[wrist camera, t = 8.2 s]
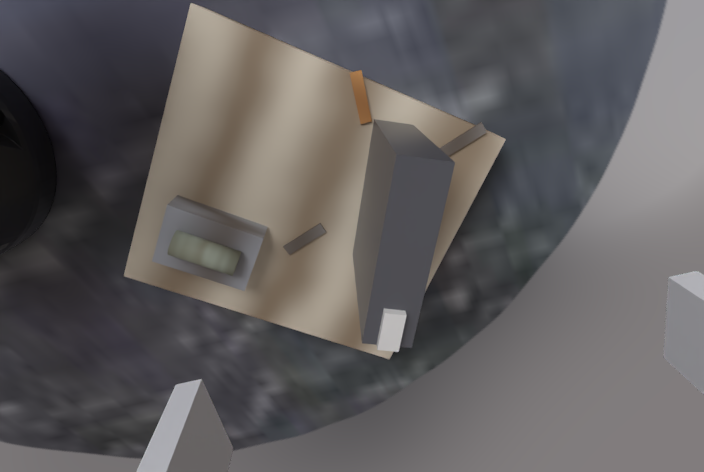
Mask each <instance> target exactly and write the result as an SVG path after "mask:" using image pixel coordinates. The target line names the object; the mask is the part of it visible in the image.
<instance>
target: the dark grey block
mask: <svg viewBox="0 0 704 472" xmlns="http://www.w3.org/2000/svg"><path fill="white" fill-rule="evenodd" d="M454 166H455V162H454V161H453V160H452V159H451V158H450V157H449V156H447V155H446V154H445V153H444V152H443V151H442V150H441V149H440V148H438V147H437V146H436V145H435V144H434V143H433V142H432V141H431V140H430V139H428V138H427V137H426V136H425V135H424V134H423V133H422V132H421V131H419V130H418V129H417V128H416V127H415V126H414V125H411V124H404V123H397V122H390V121H383V120H376V119H374V123H373V129H372V135H371V142H370V148H369V154H368V160H367V167H366V173H365V179H364V186H363V192H362V198H361V204H360V211H359V217H358V223H357V230H356V236H355V242H354V248H353V263H354V272H355V282H356V292H357V301H358V311H359V320H360V330H361V340H362V343H363V344H374V345H377V350H383V351H393V352H399V348H400V347H405V348H412V345H413V341H414V337H415V332H416V328H417V324H418V320H419V315H420V311H421V307H422V302H423V298H424V294H425V290H426V285H427V281H428V277H429V273H430V268H431V264H432V260H433V256H434V251H435V247H436V243H437V238H438V234H439V230H440V226H441V221H442V217H443V213H444V209H445V204H446V200H447V196H448V191H449V187H450V183H451V179H452V174H453V170H454Z"/></svg>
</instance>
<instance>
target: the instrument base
mask: <svg viewBox="0 0 704 472" xmlns="http://www.w3.org/2000/svg"><path fill="white" fill-rule="evenodd" d="M374 119H376V120H383V121H390V122H397V123H404V124H411V125H414V126H415V127H416V128H417V129H418V130H419V131H421V132H422V133H423V134H424V135H425V136H426V137H427V138H428V139H430V140H431V141H432V142H433V143H434V144H435V145H436V146H437V147H438V148H440V149H441V150H442V151H443V152H444V153H445V154H446V155H447V156H449V157H450V158H451V159H452V160H453V161H454V162H455V166H454V170H453V174H452V179H451V183H450V187H449V191H448V196H447V200H446V204H445V209H444V213H443V217H442V221H441V226H440V230H439V234H438V238H437V243H436V247H435V251H434V256H433V260H432V264H431V268H430V273H429V277H428V281H427V285H426V289H427V287H428V286H429V284H430V282H431V280H432V278H433V276H434V274H435V272H436V270H437V269H438V267H439V265H440V263H441V261H442V259H443V257H444V255H445V253H446V252H447V250H448V248H449V246H450V244H451V242H452V240H453V238H454V236H455V235H456V233H457V231H458V229H459V227H460V225H461V223H462V221H463V219H464V218H465V216H466V214H467V212H468V210H469V208H470V206H471V204H472V202H473V201H474V199H475V197H476V195H477V193H478V191H479V189H480V187H481V185H482V184H483V182H484V180H485V178H486V176H487V174H488V172H489V170H490V168H491V166H492V165H493V163H494V161H495V159H496V157H497V155H498V153H499V151H500V149H501V148H502V146H503V144H504V142H505V140H506V139H504V138H502V137H500V136H498V135H496V134H494V133H492V132H490V131H488V130H486V129H485V128H484V126H483V124H482V123H481V122H480V123H479V124H477V125H474V124H472V123H469V122H467V121H465V120H463V119H460V118H458V117H456V116H453V115H451V114H449V113H446V112H444V111H442V110H439V109H437V108H435V107H433V106H430V105H428V104H426V103H423V102H421V101H419V100H416V99H414V98H412V97H410V96H407V95H405V94H403V93H400V92H398V91H396V90H393V89H391V88H389V87H386V86H384V85H382V84H380V83H377V82H375V81H373V80H370V79H368V78H366V77H363V76H362V71H361V70H359V71H355V72H352V71H350V70H347V69H345V68H343V67H340V66H338V65H336V64H333V63H331V62H329V61H327V60H324V59H322V58H320V57H317V56H315V55H313V54H310V53H308V52H306V51H304V50H301V49H299V48H297V47H294V46H292V45H290V44H287V43H285V42H283V41H280V40H278V39H276V38H274V37H271V36H269V35H267V34H264V33H262V32H260V31H257V30H255V29H253V28H250V27H248V26H246V25H244V24H241V23H239V22H237V21H234V20H232V19H230V18H227V17H225V16H223V15H221V14H218V13H216V12H214V11H211V10H209V9H207V8H204V7H201V6H198V5H196V4H193V3H191V4H190V8H189V12H188V16H187V20H186V24H185V28H184V32H183V36H182V41H181V45H180V49H179V53H178V57H177V61H176V65H175V69H174V73H173V77H172V81H171V85H170V89H169V93H168V97H167V101H166V106H165V110H164V114H163V118H162V122H161V126H160V130H159V134H158V138H157V142H156V146H155V150H154V154H153V158H152V162H151V166H150V171H149V175H148V179H147V183H146V187H145V191H144V195H143V199H142V203H141V207H140V211H139V215H138V219H137V223H136V227H135V231H134V236H133V240H132V244H131V248H130V252H129V256H128V260H127V264H126V268H125V272H124V276H125V277H128V278H131V279H134V280H137V281H141V282H144V283H147V284H150V285H153V286H157V287H160V288H163V289H166V290H169V291H173V292H176V293H179V294H182V295H185V296H189V297H192V298H195V299H198V300H201V301H205V302H208V303H211V304H214V305H217V306H221V307H224V308H227V309H230V310H233V311H237V312H240V313H243V314H246V315H249V316H253V317H256V318H259V319H262V320H265V321H268V322H272V323H275V324H278V325H281V326H284V327H288V328H291V329H294V330H297V331H300V332H304V333H307V334H310V335H313V336H316V337H320V338H323V339H326V340H329V341H332V342H336V343H339V344H342V345H345V346H348V347H352V348H355V349H358V350H361V351H364V352H368V353H371V354H374V355H377V356H380V357H384V358H387V359H390V357H391V356H392V354H393V351H383V350H377V345H374V344H363V343H362V340H361V330H360V320H359V311H358V301H357V292H356V282H355V272H354V263H353V248H354V242H355V236H356V230H357V223H358V217H359V211H360V204H361V198H362V192H363V186H364V179H365V173H366V167H367V160H368V154H369V148H370V142H371V135H372V129H373V123H374ZM425 291H426V290H425Z"/></svg>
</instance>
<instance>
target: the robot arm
mask: <svg viewBox="0 0 704 472" xmlns="http://www.w3.org/2000/svg"><path fill="white" fill-rule="evenodd" d="M55 188H56V165H55V158H54V153H53V150H52V146H51V143H50V140H49V137H48V134H47V132H46V130H45V128H44V125H43V124H42V122H41V120H40V118H39V116H38V114H37V113H36V111H35V109H34V108H33V106H32V105H31V104H30V102H29V101H28V99H27V98H26V97H25V95H24V94H23V93H22V92H21V91H20V89H19V88H18V87H17V86H16V85H15V84H14V83H13V82H12V81H11V80H10V79H9V78H8V77H7V76H6V75H5V74H4V73H3V72H2V71H1V70H0V254H2V253H4V252H6V251H7V250H9V249H11V248H12V247H14V246H16V245H17V244H19V243H21V242H22V241H24V240H25V239H27V238H28V237H29V236H30V235H32V234H33V233H34V232H35V231H36V230H37V229H38V227H39V226H40V225H41V224H42V222H43V221H44V219H45V218H46V216H47V214H48V212H49V210H50V208H51V205H52V202H53V199H54V194H55ZM663 357H664V359H665V360H667V361H668V362H669V363H670V364H671V365H672V366H673V367H674V368H675V369H676V370H677V371H678V372H679V373H681V374H682V375H683V376H684V377H685V378H686V379H687V380H688V381H689V382H690V383H692V384H693V385H694V386H695V387H696V388H697V389H698V390H699V391H700V392H701V393H702V394H703V395H704V275H703V274H701V273H700V272H698V271H694V272H690V273H685V274H680V275H676V276H671V277H668V294H667V308H666V325H665V341H664V356H663ZM232 452H233V447H232V444H231V442H230V440H229V438H228V436H227V433H226V431H225V429H224V427H223V425H222V422H221V420H220V418H219V416H218V414H217V411H216V409H215V407H214V405H213V403H212V400H211V398H210V396H209V394H208V392H207V389H206V387H205V385H204V383H203V381H202V379H199V380H195V381H190V382H186V383H181V384H176V385H175V387H174V390H173V392H172V394H171V396H170V398H169V401H168V403H167V405H166V407H165V409H164V412H163V414H162V416H161V418H160V420H159V423H158V425H157V427H156V429H155V431H154V434H153V436H152V438H151V440H150V442H149V445H148V447H147V449H146V451H145V453H144V456H143V458H142V460H141V462H140V465H139V467H138V469H137V471H136V472H228V469H229V465H230V461H231V456H232Z"/></svg>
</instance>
